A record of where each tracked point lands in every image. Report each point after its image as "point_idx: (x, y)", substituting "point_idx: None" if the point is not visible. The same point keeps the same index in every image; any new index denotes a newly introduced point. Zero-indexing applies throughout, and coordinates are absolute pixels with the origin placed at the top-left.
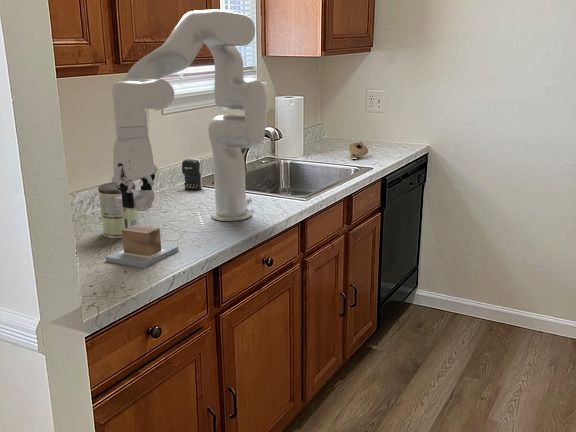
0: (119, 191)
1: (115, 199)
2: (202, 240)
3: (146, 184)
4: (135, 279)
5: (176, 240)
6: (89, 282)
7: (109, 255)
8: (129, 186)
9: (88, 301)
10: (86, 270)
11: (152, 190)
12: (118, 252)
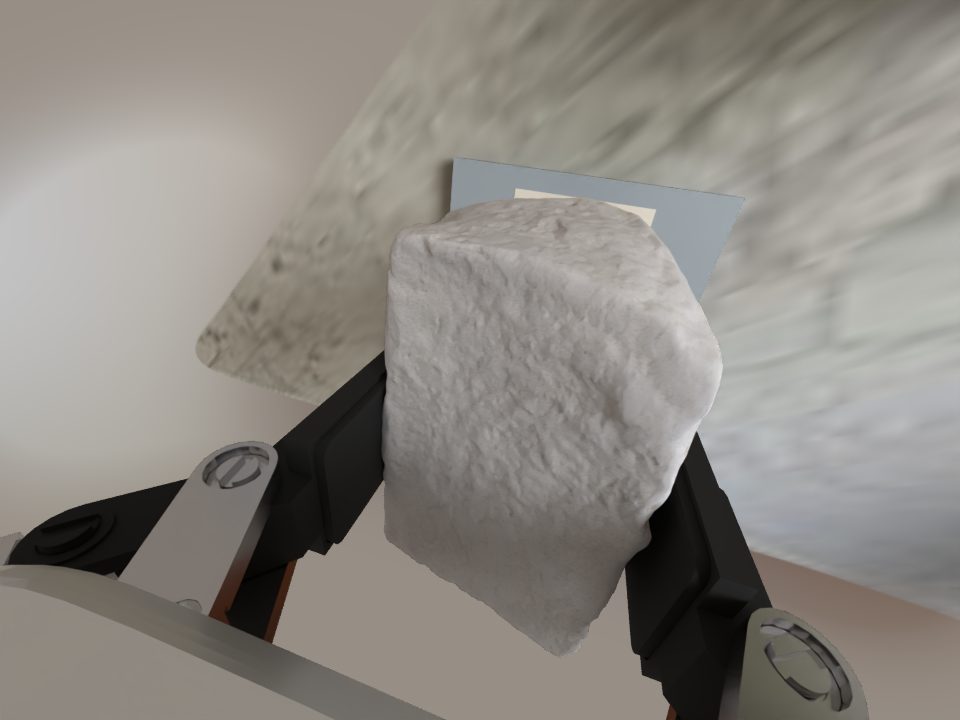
0: (229, 445)
1: (398, 244)
2: (815, 449)
3: (675, 678)
4: (367, 363)
5: (825, 340)
6: (288, 241)
7: (474, 165)
8: (233, 616)
9: (220, 317)
10: (351, 146)
11: (564, 653)
12: (523, 183)
